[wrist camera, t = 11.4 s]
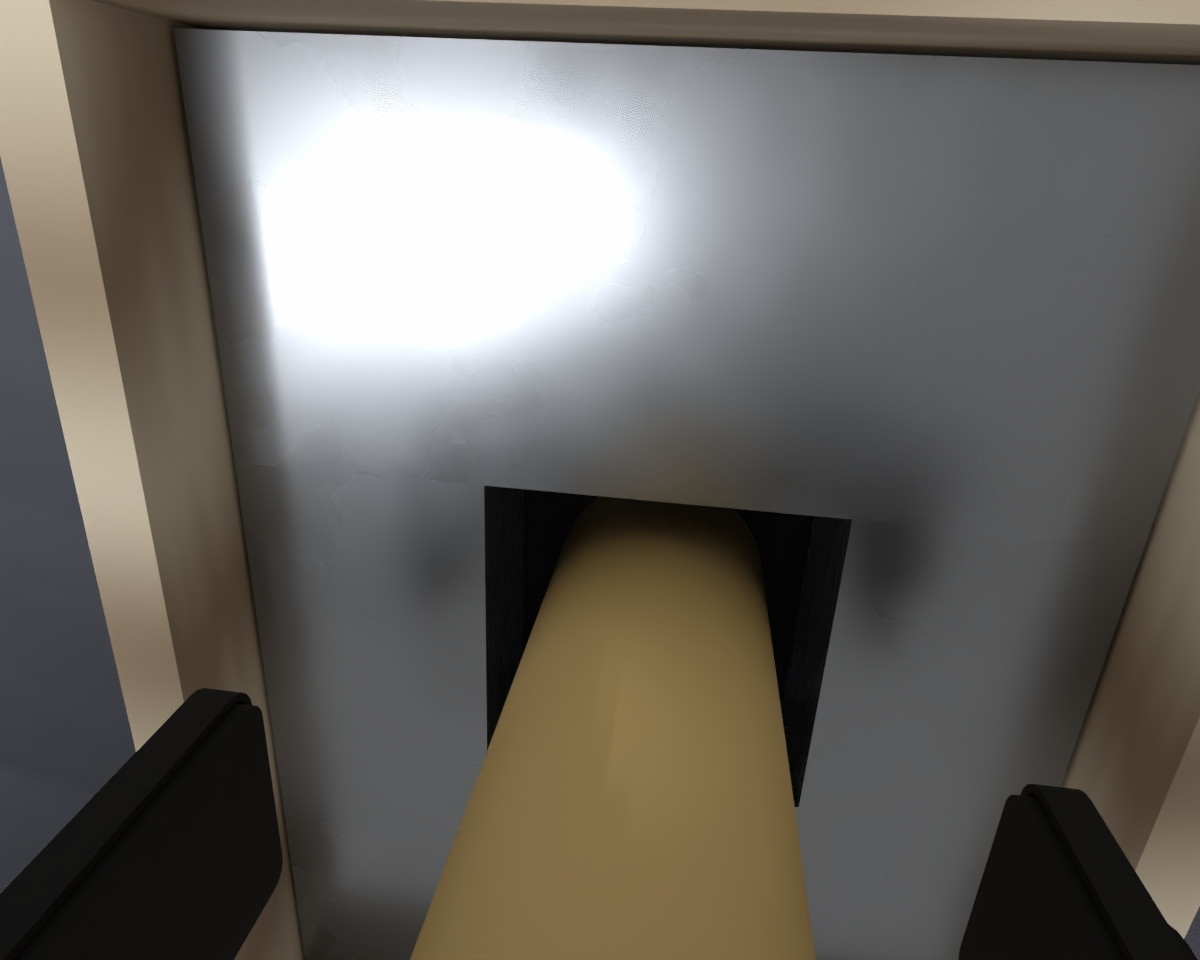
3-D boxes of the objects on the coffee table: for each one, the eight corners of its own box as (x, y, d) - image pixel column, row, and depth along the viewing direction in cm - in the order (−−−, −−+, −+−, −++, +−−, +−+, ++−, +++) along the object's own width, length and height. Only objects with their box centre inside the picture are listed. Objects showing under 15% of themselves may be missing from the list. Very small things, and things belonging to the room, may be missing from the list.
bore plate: (924, 931, 18) (963, 1066, 16) (361, 851, 20) (305, 963, 17) (1168, 90, 12) (1311, 69, 9) (286, 55, 13) (172, 28, 10)
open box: (962, 970, 19) (1045, 1232, 14) (323, 877, 20) (212, 1086, 16) (1275, 8, 11) (1673, -99, 7) (214, -24, 13) (-63, -126, 8)
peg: (748, 664, 16) (804, 1309, 7) (559, 643, 17) (382, 1230, 8) (773, 487, 15) (883, 1020, 6) (564, 469, 15) (351, 939, 6)
